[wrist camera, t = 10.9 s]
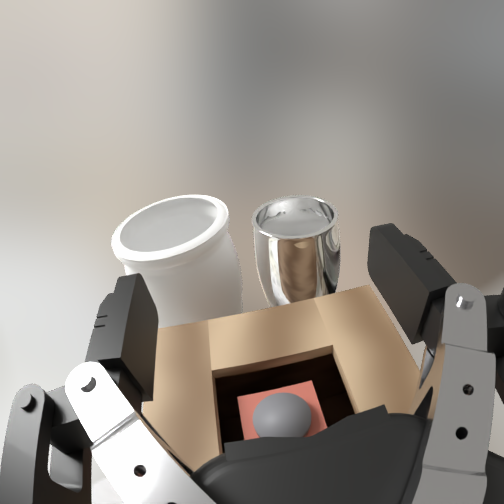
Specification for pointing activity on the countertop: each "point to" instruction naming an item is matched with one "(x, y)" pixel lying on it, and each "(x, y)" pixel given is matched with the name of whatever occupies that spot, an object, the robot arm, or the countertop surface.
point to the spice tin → (282, 412)
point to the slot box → (276, 367)
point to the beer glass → (296, 248)
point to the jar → (183, 258)
